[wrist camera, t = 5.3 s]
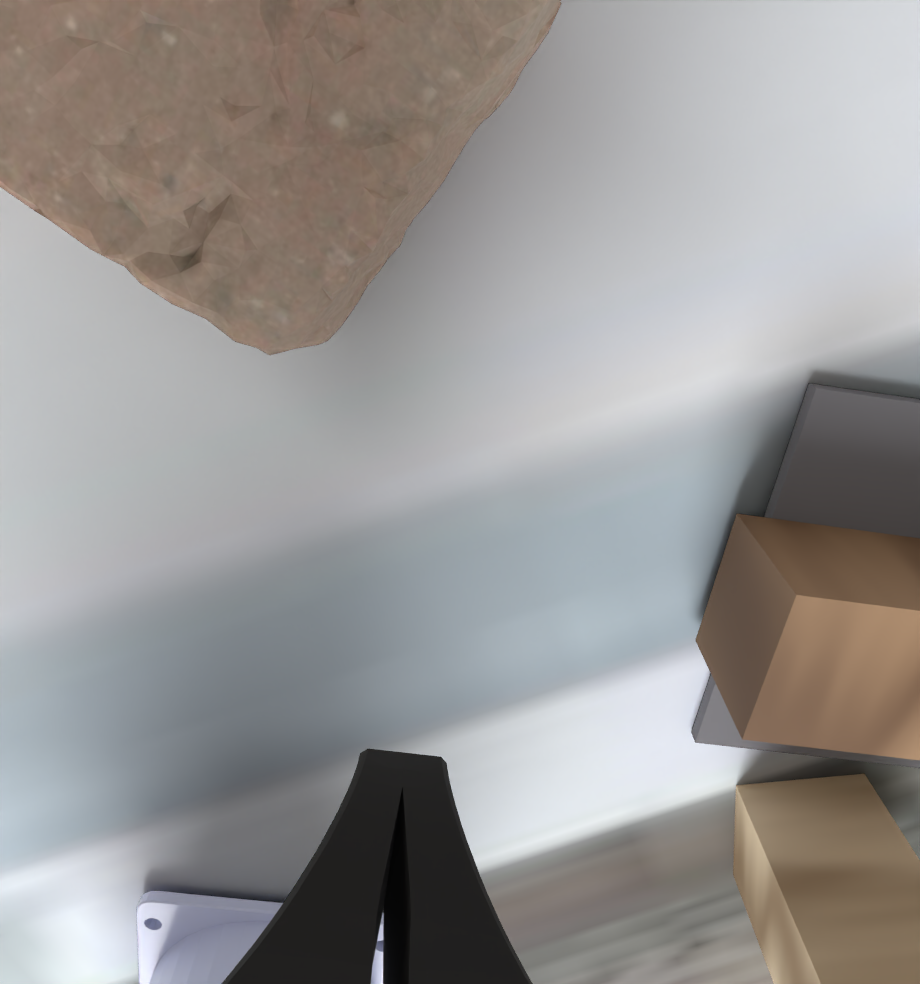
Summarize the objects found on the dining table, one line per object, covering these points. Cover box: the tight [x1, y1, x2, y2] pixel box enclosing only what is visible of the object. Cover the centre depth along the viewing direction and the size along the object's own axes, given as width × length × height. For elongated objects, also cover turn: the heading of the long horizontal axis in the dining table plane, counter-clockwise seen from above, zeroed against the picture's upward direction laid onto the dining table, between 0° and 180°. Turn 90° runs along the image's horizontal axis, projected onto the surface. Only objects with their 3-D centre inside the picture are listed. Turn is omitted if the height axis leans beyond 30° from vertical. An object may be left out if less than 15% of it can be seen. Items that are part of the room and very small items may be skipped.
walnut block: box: [696, 514, 920, 760], centre depth 18 cm, size 4×4×7 cm
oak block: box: [733, 774, 920, 984], centre depth 21 cm, size 4×4×6 cm
